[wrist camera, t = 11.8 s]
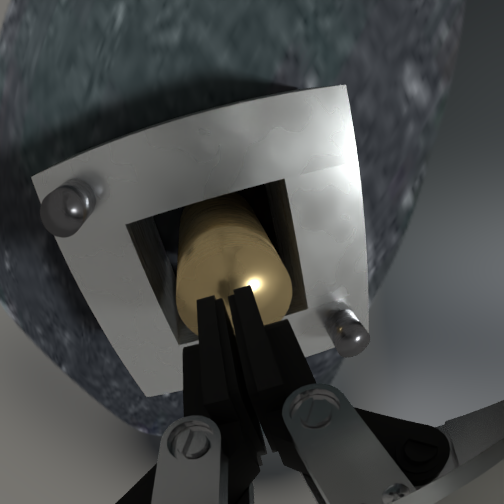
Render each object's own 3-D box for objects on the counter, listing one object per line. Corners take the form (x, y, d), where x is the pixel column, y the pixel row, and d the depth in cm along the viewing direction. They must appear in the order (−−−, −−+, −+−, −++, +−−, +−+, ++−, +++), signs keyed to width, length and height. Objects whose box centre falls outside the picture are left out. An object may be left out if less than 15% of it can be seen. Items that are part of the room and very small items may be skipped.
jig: (73, 154, 14) (11, 188, 8) (302, 88, 15) (366, 83, 9) (152, 337, 20) (145, 420, 14) (333, 285, 20) (382, 354, 14)
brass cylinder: (169, 201, 16) (158, 267, 10) (244, 179, 16) (280, 230, 10) (193, 267, 18) (198, 355, 12) (262, 246, 18) (300, 325, 12)
